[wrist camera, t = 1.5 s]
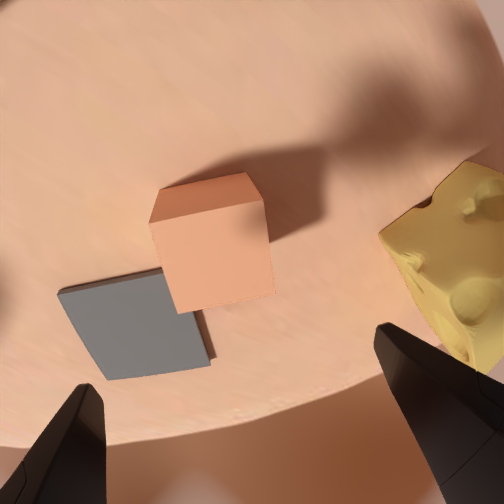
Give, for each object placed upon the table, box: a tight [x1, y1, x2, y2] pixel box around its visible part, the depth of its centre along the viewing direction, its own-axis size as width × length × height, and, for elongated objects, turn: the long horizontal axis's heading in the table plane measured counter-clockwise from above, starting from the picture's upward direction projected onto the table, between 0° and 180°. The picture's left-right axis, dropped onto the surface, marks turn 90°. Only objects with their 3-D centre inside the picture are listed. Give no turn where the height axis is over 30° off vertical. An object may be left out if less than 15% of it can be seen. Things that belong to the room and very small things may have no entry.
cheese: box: [378, 161, 504, 375], centre depth 18 cm, size 10×11×10 cm
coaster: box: [57, 269, 211, 380], centre depth 21 cm, size 9×9×1 cm
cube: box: [149, 172, 275, 314], centre depth 17 cm, size 5×5×5 cm
